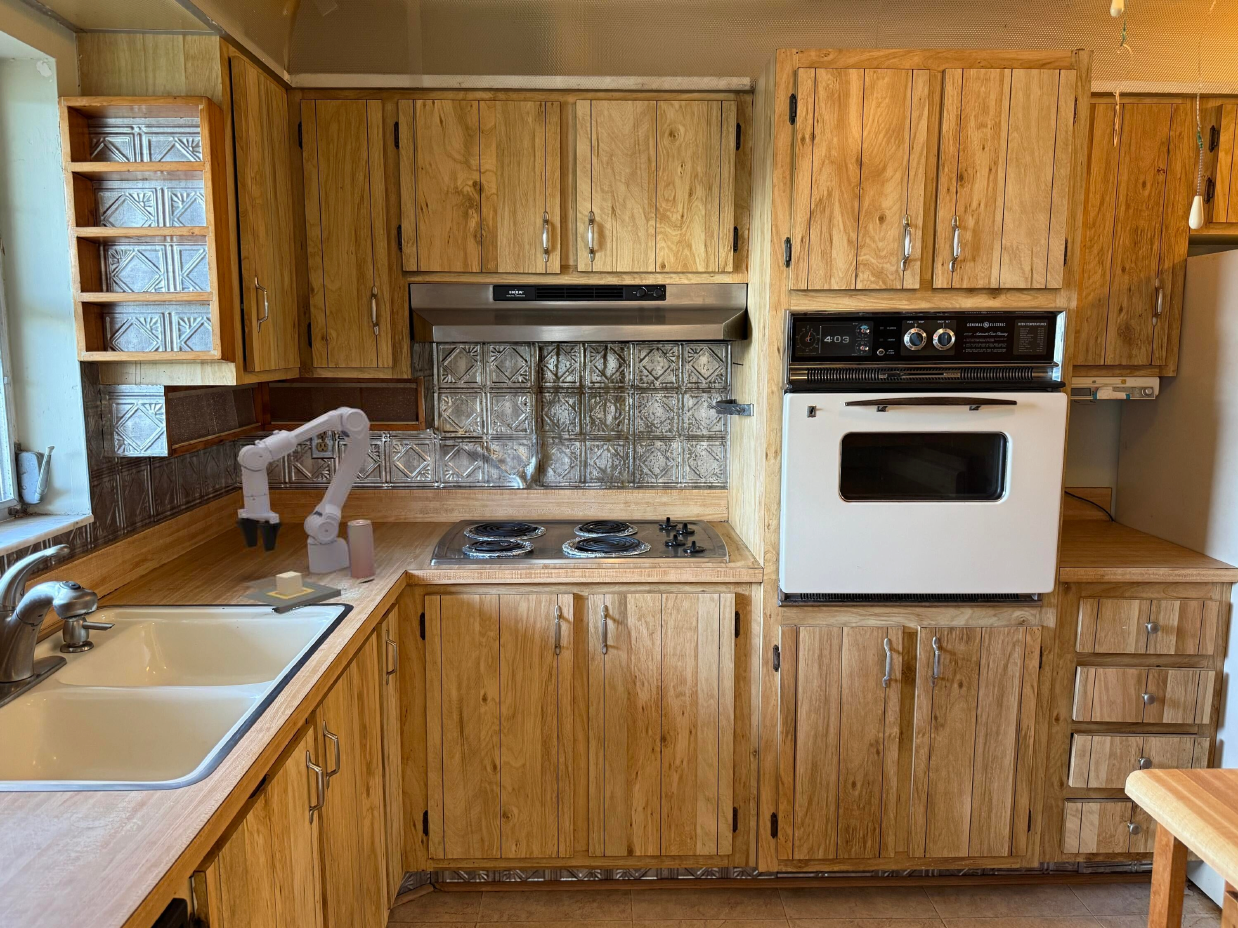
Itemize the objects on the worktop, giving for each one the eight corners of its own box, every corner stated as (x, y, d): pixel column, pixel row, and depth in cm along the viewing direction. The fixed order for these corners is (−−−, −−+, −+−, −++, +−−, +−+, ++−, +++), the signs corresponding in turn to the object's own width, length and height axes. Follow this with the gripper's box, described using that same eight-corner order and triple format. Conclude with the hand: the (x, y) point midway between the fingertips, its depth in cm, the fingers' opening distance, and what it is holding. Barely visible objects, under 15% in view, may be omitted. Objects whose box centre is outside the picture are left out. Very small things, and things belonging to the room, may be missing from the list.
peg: (293, 595, 206) (291, 571, 206) (303, 598, 204) (301, 573, 203) (278, 600, 203) (275, 575, 202) (288, 602, 201) (285, 577, 200)
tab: (272, 581, 219) (272, 576, 218) (291, 586, 214) (291, 580, 214) (243, 589, 212) (242, 583, 212) (261, 594, 207) (261, 588, 207)
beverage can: (346, 580, 218) (342, 522, 216) (368, 575, 222) (364, 518, 220) (358, 585, 214) (354, 525, 211) (380, 580, 218) (376, 521, 216)
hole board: (301, 585, 215) (300, 578, 215) (341, 595, 206) (340, 588, 205) (240, 602, 202) (240, 595, 202) (280, 613, 193) (280, 606, 193)
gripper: (224, 494, 213) (229, 548, 215) (258, 499, 205) (263, 555, 207) (251, 490, 219) (255, 542, 221) (284, 495, 210) (289, 549, 212)
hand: (261, 548), depth 214 cm, fingers open, 7 cm apart
